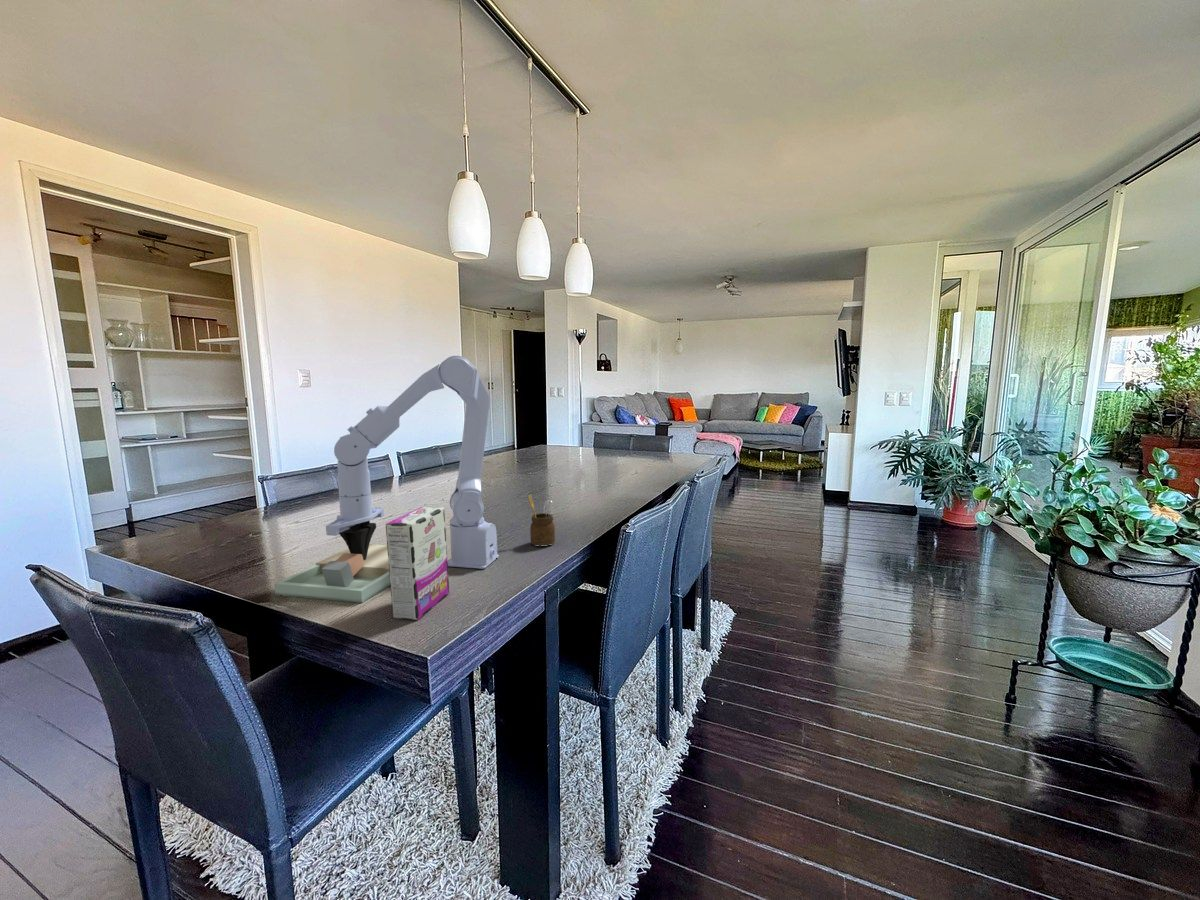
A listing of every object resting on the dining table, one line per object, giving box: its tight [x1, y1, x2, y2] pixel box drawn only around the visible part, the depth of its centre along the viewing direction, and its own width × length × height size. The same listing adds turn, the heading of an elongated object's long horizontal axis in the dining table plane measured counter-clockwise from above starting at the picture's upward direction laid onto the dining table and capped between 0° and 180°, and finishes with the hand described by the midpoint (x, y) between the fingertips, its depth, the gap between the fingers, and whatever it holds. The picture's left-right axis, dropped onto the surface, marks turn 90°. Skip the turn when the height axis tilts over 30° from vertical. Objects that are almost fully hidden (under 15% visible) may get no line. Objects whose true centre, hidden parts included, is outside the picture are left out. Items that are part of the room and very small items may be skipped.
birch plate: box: [315, 543, 389, 578], centre depth 105 cm, size 18×13×2 cm
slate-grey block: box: [322, 561, 354, 587], centre depth 93 cm, size 4×4×2 cm
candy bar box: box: [385, 506, 450, 621], centre depth 85 cm, size 11×5×16 cm, turn 170°
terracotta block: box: [336, 553, 365, 576], centre depth 96 cm, size 4×4×2 cm
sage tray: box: [274, 564, 390, 604], centre depth 93 cm, size 18×10×2 cm, turn 79°
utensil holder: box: [527, 494, 556, 546], centre depth 119 cm, size 6×6×12 cm
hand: (359, 560), depth 100 cm, fingers closed
